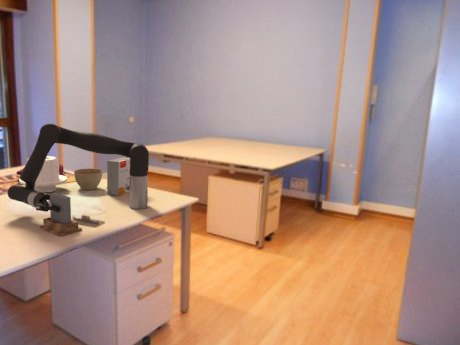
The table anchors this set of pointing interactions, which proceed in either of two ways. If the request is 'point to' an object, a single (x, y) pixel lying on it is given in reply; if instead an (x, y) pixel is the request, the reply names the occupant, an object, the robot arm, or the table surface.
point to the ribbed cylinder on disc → (48, 176)
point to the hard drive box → (118, 176)
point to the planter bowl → (88, 178)
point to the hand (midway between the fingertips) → (64, 208)
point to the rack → (60, 227)
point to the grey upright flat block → (61, 208)
